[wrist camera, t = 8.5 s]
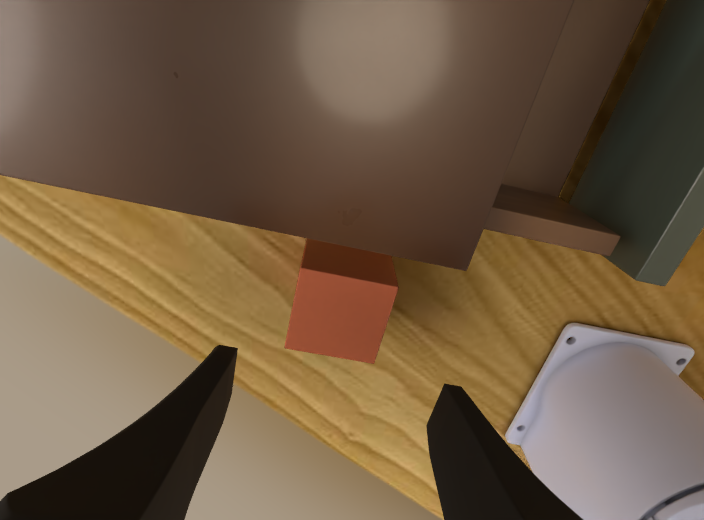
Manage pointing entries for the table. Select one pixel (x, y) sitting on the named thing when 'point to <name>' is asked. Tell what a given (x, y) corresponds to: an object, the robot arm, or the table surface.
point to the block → (341, 301)
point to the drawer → (615, 142)
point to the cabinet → (281, 110)
